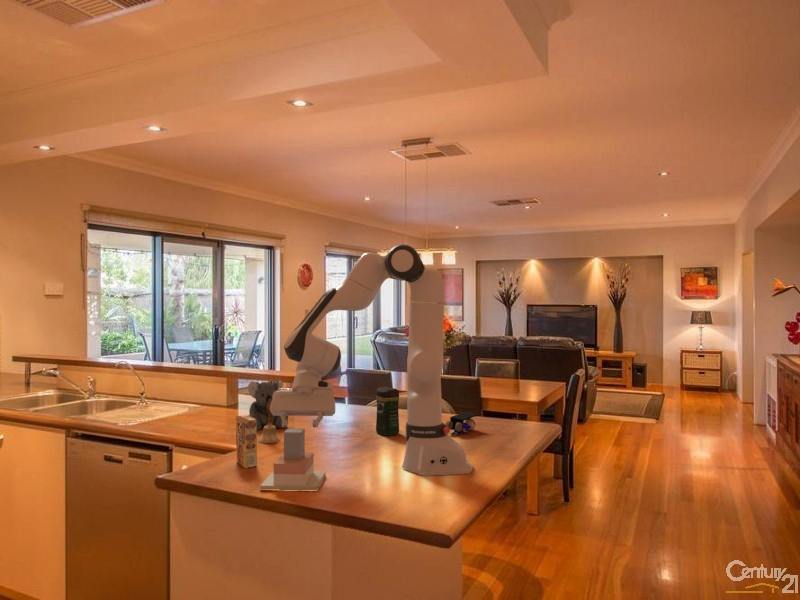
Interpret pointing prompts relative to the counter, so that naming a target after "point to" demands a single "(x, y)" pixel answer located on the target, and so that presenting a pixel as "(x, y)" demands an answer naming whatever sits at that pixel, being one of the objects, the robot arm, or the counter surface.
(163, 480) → the counter surface
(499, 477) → the counter surface
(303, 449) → the slate brick
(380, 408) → the coffee jar
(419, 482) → the counter surface
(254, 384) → the koala plush
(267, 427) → the hand bell
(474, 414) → the figurine character
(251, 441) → the candy box
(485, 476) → the counter surface
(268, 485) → the brick tower base
